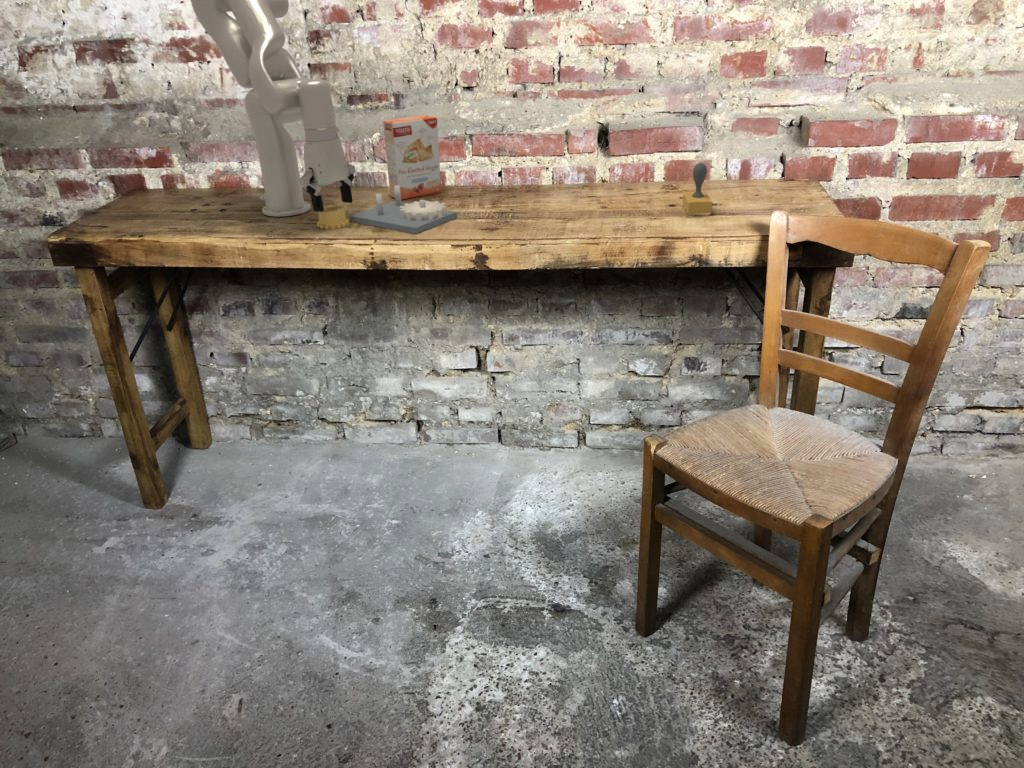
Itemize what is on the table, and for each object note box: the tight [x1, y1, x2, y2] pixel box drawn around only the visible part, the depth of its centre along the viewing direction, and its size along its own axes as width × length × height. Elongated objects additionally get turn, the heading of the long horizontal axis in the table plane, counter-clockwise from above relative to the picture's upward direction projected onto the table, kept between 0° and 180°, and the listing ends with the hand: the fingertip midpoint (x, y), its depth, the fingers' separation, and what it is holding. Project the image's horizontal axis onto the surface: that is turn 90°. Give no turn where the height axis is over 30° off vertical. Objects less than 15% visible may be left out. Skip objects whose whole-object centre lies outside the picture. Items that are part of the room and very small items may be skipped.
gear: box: [316, 204, 351, 230], centre depth 191 cm, size 8×8×4 cm
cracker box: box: [382, 114, 442, 201], centre depth 211 cm, size 14×6×21 cm, turn 126°
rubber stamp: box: [682, 162, 713, 214], centre depth 191 cm, size 10×6×12 cm, turn 177°
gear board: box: [349, 185, 458, 235], centre depth 192 cm, size 22×16×6 cm
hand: (333, 206), depth 189 cm, fingers open, 9 cm apart
